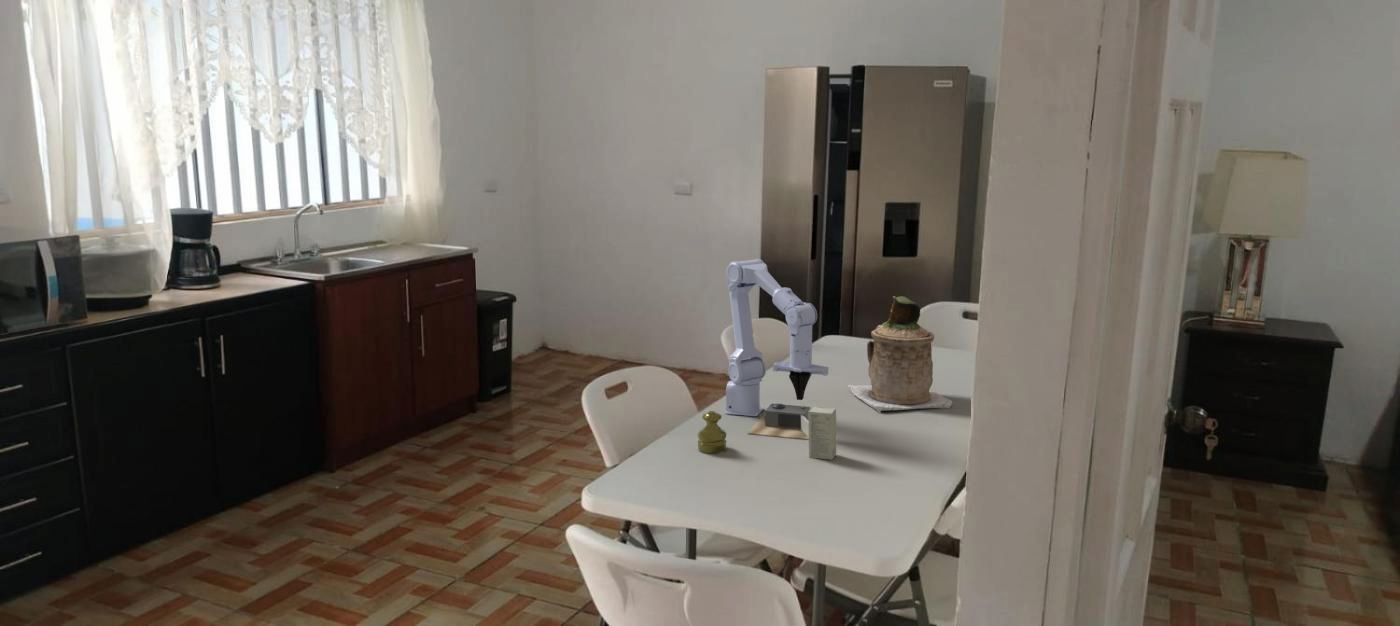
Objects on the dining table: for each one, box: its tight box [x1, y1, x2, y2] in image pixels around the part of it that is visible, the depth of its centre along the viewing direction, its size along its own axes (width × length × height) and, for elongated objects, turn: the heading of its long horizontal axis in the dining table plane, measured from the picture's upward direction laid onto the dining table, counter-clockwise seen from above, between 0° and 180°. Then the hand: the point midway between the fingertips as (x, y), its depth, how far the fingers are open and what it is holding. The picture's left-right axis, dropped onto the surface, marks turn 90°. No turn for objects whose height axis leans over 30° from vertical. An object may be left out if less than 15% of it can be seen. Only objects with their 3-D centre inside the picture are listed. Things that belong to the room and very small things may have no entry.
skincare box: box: [808, 406, 837, 461], centre depth 242 cm, size 6×4×12 cm
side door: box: [801, 415, 809, 438], centre depth 259 cm, size 7×2×4 cm, turn 11°
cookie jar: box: [847, 295, 953, 414], centre depth 288 cm, size 25×25×32 cm
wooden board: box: [747, 415, 809, 441], centre depth 265 cm, size 18×16×1 cm
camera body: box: [764, 403, 811, 429], centre depth 267 cm, size 11×7×5 cm, turn 71°
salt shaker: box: [697, 410, 727, 454], centre depth 248 cm, size 7×7×10 cm
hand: (800, 398), depth 259 cm, fingers closed
